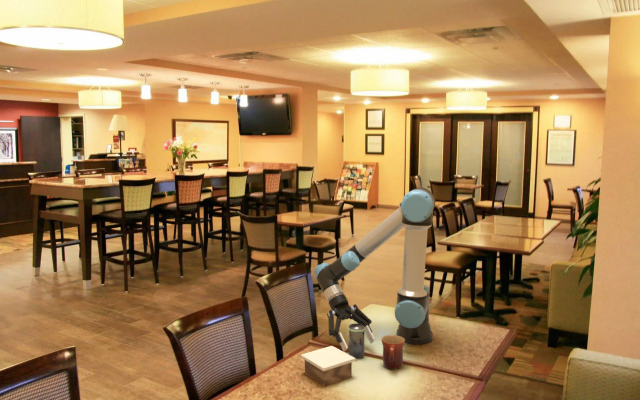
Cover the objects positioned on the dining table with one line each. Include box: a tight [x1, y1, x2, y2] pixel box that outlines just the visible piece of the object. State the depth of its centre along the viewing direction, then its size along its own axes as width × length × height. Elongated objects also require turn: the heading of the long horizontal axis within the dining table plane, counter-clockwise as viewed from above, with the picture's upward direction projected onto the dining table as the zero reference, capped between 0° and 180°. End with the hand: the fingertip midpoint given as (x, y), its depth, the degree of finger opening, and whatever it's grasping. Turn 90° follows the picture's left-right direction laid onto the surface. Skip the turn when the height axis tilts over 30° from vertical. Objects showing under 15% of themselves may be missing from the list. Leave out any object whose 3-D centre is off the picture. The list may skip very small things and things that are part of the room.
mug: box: [380, 334, 405, 370], centre depth 190 cm, size 12×9×10 cm
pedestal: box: [300, 345, 357, 387], centre depth 184 cm, size 14×14×7 cm
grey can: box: [348, 323, 365, 360], centre depth 200 cm, size 6×6×12 cm
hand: (359, 345), depth 199 cm, fingers open, 13 cm apart
